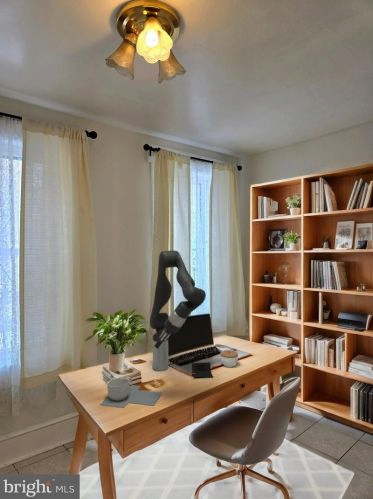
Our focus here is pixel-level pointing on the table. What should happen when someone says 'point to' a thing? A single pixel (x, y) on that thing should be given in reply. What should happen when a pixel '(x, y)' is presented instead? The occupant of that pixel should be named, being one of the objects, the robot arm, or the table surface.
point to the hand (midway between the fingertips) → (156, 346)
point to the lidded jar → (229, 358)
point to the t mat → (134, 398)
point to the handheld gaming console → (201, 370)
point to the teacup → (119, 388)
